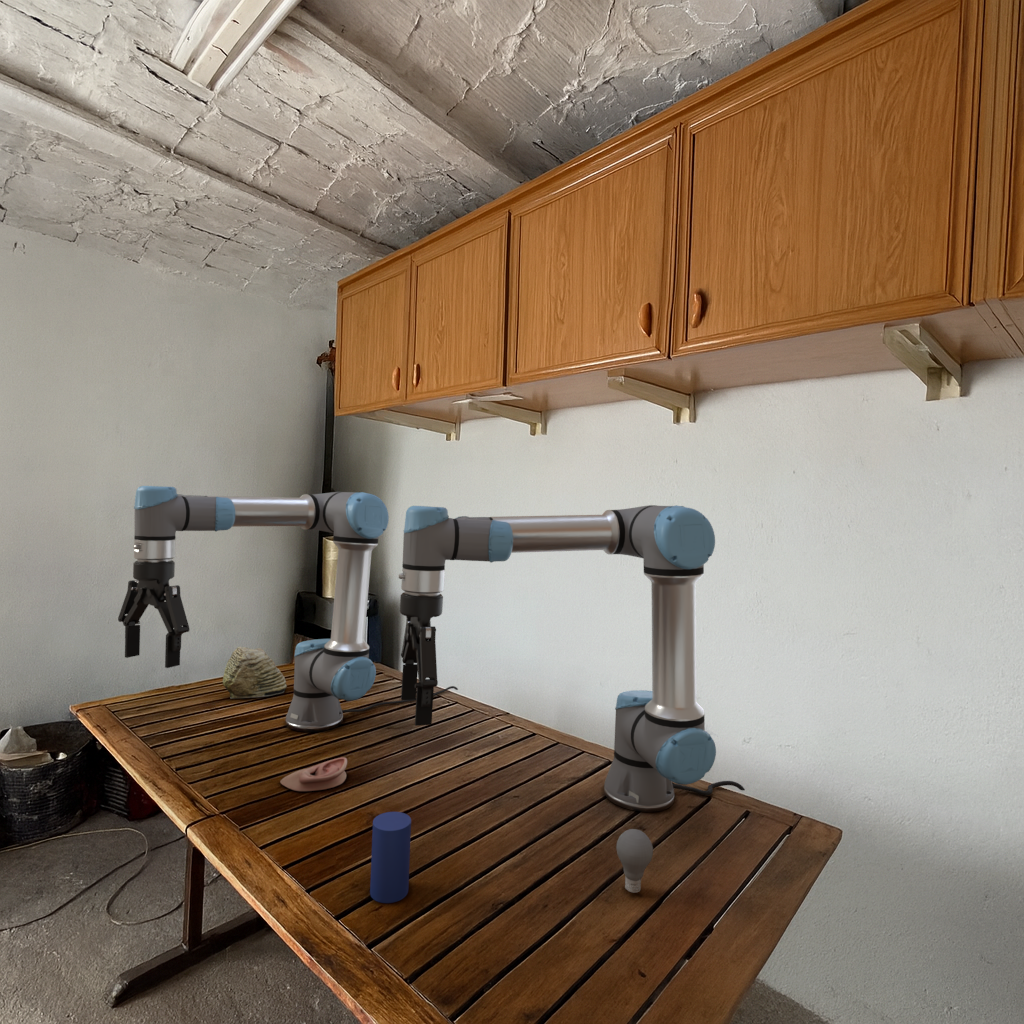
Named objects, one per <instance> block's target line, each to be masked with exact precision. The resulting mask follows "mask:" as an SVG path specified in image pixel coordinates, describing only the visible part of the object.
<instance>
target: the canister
mask: <svg viewBox="0 0 1024 1024" xmlns="http://www.w3.org/2000/svg"><path fill="white" fill-rule="evenodd" d="M411 834H412V818H411V817H410V815H408V814H407V813H404V812H401V811H387V812H383V813H380V814H378V815H377V816H375V817H374V818H373V820H372V835H371V837H372V838H371V858H370V859H371V861H370V882H369V883H370V884H369V885H370V886H369V887H370V888H369V889H370V890H369V895H370V897H371V899H372V900H373V901H375V902H377V903H381V904H393V903H397V902H399V901H401V900H403V899H404V898H406V897H407V895H408V893H409V886H410V885H409V882H410V862H411V861H410V860H411V859H410V858H411Z"/></svg>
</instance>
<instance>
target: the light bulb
mask: <svg viewBox="0 0 1024 1024" xmlns="http://www.w3.org/2000/svg"><path fill="white" fill-rule="evenodd" d="M615 849H616V854H617V857H618V859H619V861H620V863H621V865H622V867H623V873H624V874H623V875H624V876H625V878H624V888H625V890H627V891H628V892H630V893H634V894H635V893H639V892H640V891H641V889H642V887H641V886H642V879H643V877H644V875H645V871H646V868H647V867H648V866H649V864H650V863H651V861H652V859H653V855H654V847H653V843H652V841H651V838H649V836H648V835H647V834H646V833H645V832H643V831H642V830H641V829H636V828H629V829H627V830H625V831H623V832H622V833H621V834H620V835H619V837H618V839H617V841H616V847H615Z"/></svg>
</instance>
